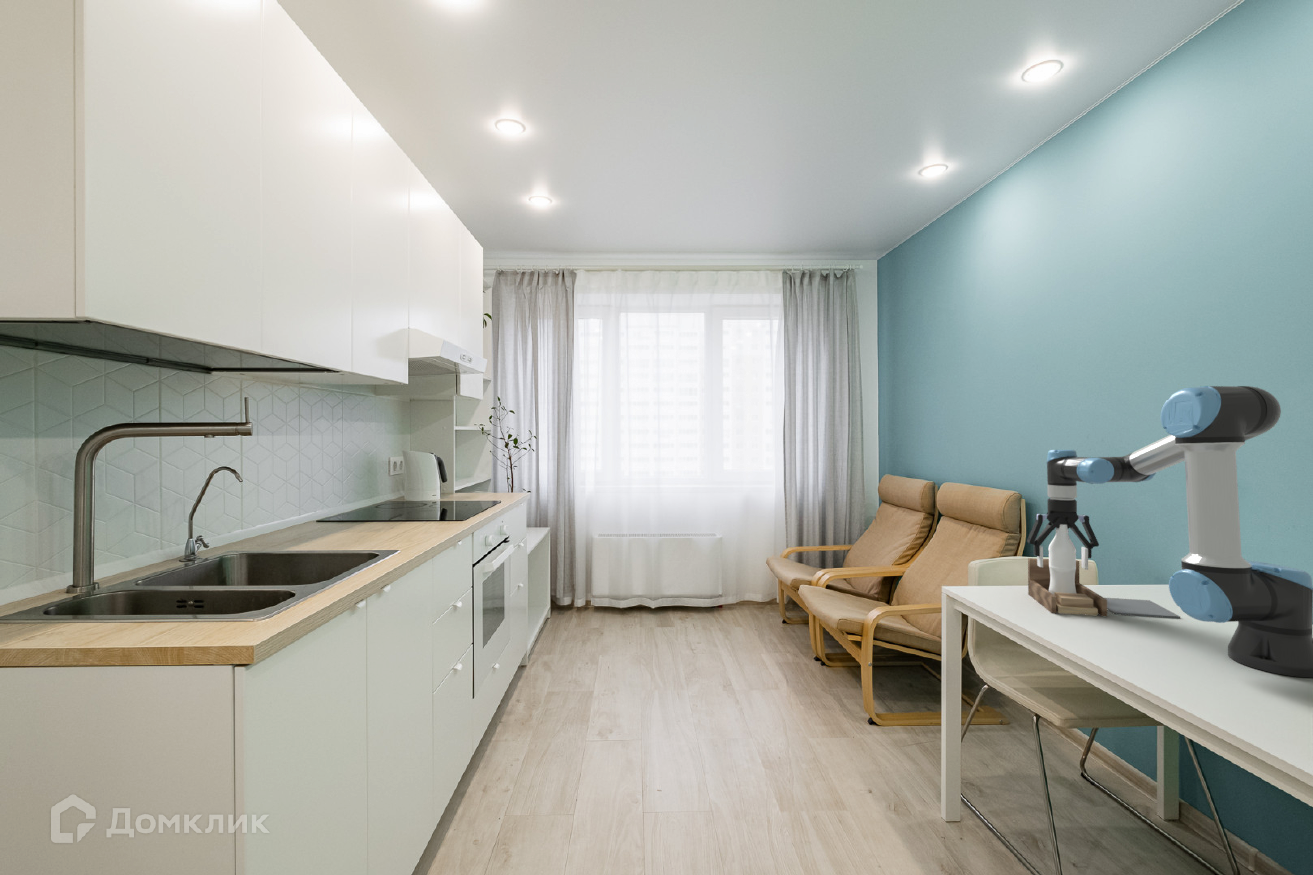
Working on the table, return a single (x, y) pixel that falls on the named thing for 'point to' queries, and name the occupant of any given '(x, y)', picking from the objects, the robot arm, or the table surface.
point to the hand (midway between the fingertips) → (1062, 567)
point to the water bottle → (1062, 562)
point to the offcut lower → (1076, 610)
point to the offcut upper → (1073, 600)
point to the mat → (1138, 608)
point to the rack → (1041, 583)
